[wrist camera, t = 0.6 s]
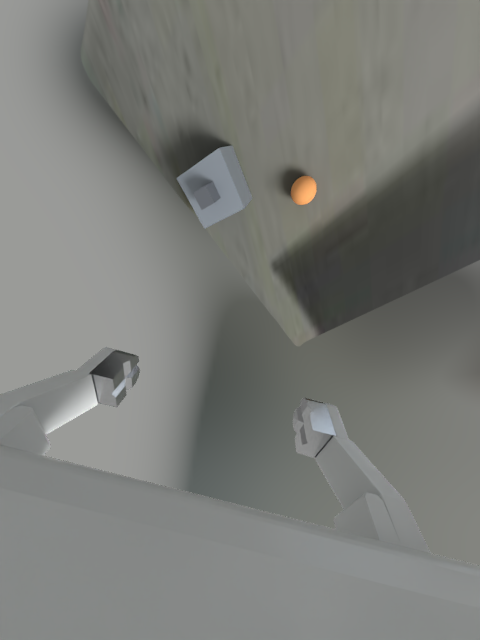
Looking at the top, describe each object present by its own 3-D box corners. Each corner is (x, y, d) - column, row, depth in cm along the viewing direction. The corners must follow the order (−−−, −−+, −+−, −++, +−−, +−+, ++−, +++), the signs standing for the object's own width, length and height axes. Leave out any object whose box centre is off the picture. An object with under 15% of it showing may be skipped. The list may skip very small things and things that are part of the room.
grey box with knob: (232, 145, 40) (211, 148, 31) (252, 198, 45) (239, 214, 36) (194, 171, 45) (166, 181, 36) (216, 216, 50) (197, 235, 41)
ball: (312, 168, 39) (313, 172, 36) (318, 195, 42) (319, 200, 39) (288, 181, 42) (287, 186, 38) (295, 205, 44) (294, 212, 41)
